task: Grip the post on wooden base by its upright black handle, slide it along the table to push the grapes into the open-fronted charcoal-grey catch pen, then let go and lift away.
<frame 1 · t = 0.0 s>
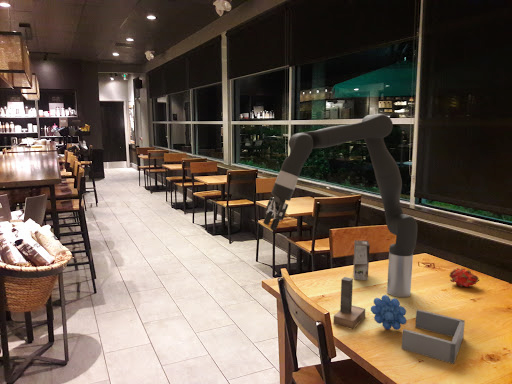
hand: (269, 226, 149), 31 cm above the table, tool tilted 20°, fingers open, 8 cm apart
coffee box: (360, 276, 188), on the table
grapes: (387, 331, 137), on the table
catch pen: (432, 342, 129), on the table
dragon fruit: (463, 286, 178), on the table
post on wooden base: (345, 319, 145), on the table
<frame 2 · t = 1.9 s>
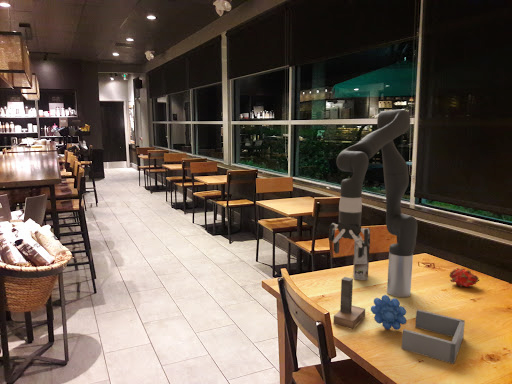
hand: (348, 255, 142), 24 cm above the table, tool pointing down, fingers open, 8 cm apart
nothing on the table moved.
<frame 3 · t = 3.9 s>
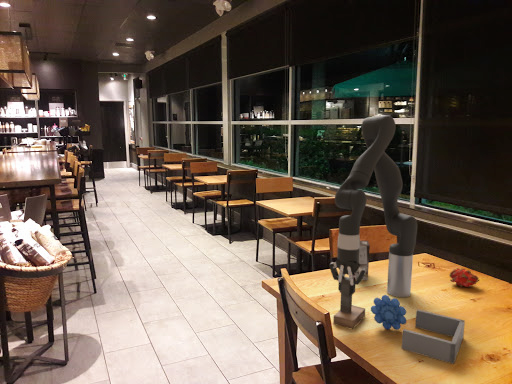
hand: (346, 292, 144), 10 cm above the table, tool pointing down, fingers closed on post on wooden base, 3 cm apart
post on wooden base: (345, 318, 145), on the table, touching gripper
everything else where it was.
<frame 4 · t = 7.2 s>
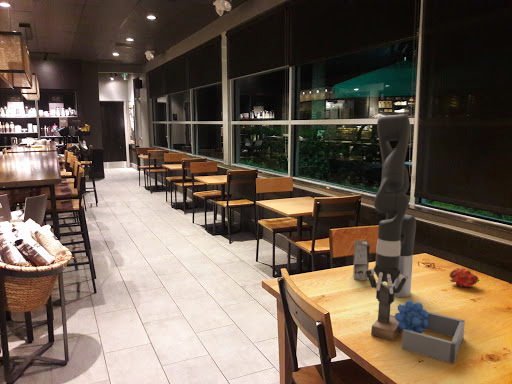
hand: (384, 301, 136), 10 cm above the table, tool pointing down, fingers closed on post on wooden base, 3 cm apart
grapes: (412, 336, 133), on the table, touching post on wooden base
post on wooden base: (383, 329, 138), on the table, touching grapes, gripper
everything else where it was.
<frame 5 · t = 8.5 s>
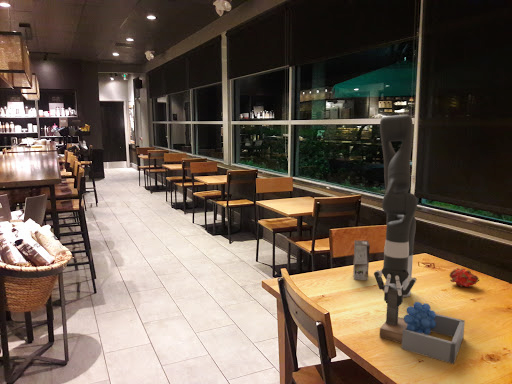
hand: (393, 303, 135), 10 cm above the table, tool pointing down, fingers closed on post on wooden base, 3 cm apart
grapes: (420, 338, 132), on the table, touching post on wooden base
post on wooden base: (391, 331, 136), on the table, touching grapes, gripper
everything else where it was.
when the fingers open (10 cm above the table, at t = 9.0 s): post on wooden base stays where it is, on the table.
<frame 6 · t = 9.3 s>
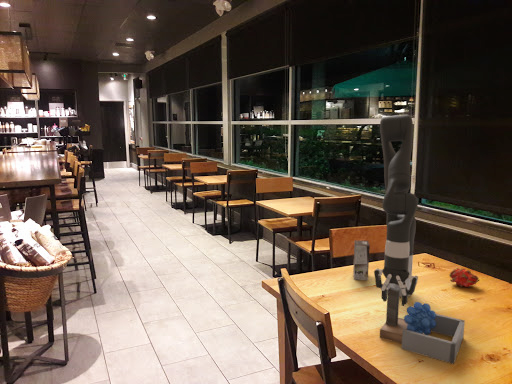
hand: (393, 302, 135), 10 cm above the table, tool pointing down, fingers open, 5 cm apart
grapes: (420, 338, 132), on the table
post on wooden base: (391, 332, 136), on the table
everything else where it was.
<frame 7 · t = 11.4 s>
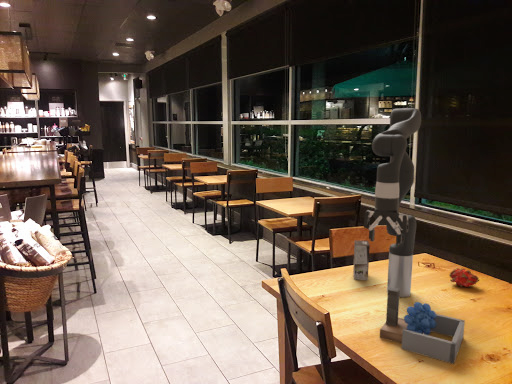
hand: (384, 242, 137), 29 cm above the table, tool pointing down, fingers open, 8 cm apart
nothing on the table moved.
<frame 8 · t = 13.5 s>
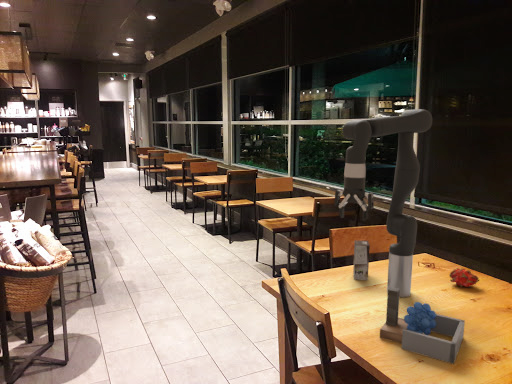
hand: (352, 219, 151), 34 cm above the table, tool pointing down, fingers open, 8 cm apart
nothing on the table moved.
at the end: grapes inside the target area (4.9 cm from its centre), on the table; grapes moved 10.4 cm from its start; the gripper is holding nothing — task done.
